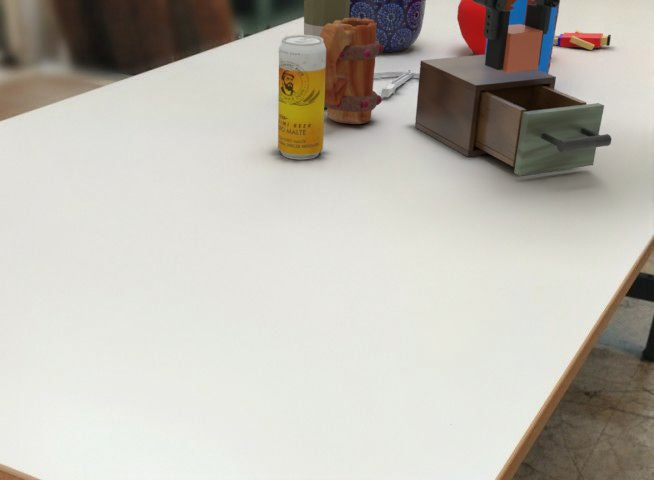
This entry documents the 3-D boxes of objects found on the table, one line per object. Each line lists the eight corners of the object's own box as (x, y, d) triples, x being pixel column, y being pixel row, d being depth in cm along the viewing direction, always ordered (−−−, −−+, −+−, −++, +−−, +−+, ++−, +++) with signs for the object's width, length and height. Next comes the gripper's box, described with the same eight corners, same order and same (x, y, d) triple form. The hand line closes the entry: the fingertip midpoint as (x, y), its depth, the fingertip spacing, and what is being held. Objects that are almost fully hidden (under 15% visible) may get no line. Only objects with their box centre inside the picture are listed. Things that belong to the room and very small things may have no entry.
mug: (340, 109, 146) (344, 7, 138) (387, 117, 142) (395, 13, 134) (293, 133, 135) (295, 24, 127) (343, 142, 131) (348, 31, 123)
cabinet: (545, 146, 131) (556, 76, 125) (467, 157, 126) (476, 85, 121) (487, 118, 142) (495, 53, 137) (414, 127, 138) (420, 60, 133)
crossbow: (374, 77, 166) (375, 65, 165) (444, 84, 162) (445, 72, 161) (347, 93, 152) (348, 80, 151) (423, 102, 148) (424, 88, 148)
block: (537, 69, 111) (543, 30, 108) (506, 73, 109) (511, 34, 107) (515, 61, 114) (520, 23, 112) (485, 64, 113) (489, 26, 110)
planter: (433, 43, 186) (441, -38, 178) (403, 60, 173) (410, -26, 165) (357, 34, 192) (361, -44, 184) (322, 50, 180) (325, -33, 172)
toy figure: (544, 36, 184) (608, 37, 179) (550, 29, 189) (612, 30, 185) (543, 49, 185) (607, 51, 181) (549, 42, 190) (610, 43, 186)
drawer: (618, 177, 117) (630, 115, 113) (542, 189, 114) (552, 125, 110) (531, 135, 132) (540, 79, 128) (462, 144, 128) (468, 87, 124)
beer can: (269, 155, 126) (269, 40, 118) (293, 143, 131) (295, 32, 123) (307, 163, 123) (310, 46, 116) (330, 152, 128) (335, 38, 120)
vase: (500, 40, 189) (514, -64, 178) (572, 58, 176) (590, -52, 166) (433, 51, 180) (443, -57, 170) (503, 71, 167) (518, -45, 157)
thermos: (508, 74, 165) (529, -82, 152) (559, 87, 158) (585, -76, 145) (468, 84, 159) (486, -78, 146) (518, 98, 152) (542, -72, 139)
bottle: (298, 109, 145) (303, -107, 130) (303, 97, 151) (308, -111, 135) (343, 111, 144) (353, -106, 129) (347, 99, 150) (357, -110, 135)
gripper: (583, -162, 105) (552, 52, 117) (450, -160, 99) (432, 65, 112) (629, -160, 99) (591, 65, 112) (491, -158, 94) (467, 79, 106)
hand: (512, 64), depth 112 cm, fingers closed on block, 4 cm apart
